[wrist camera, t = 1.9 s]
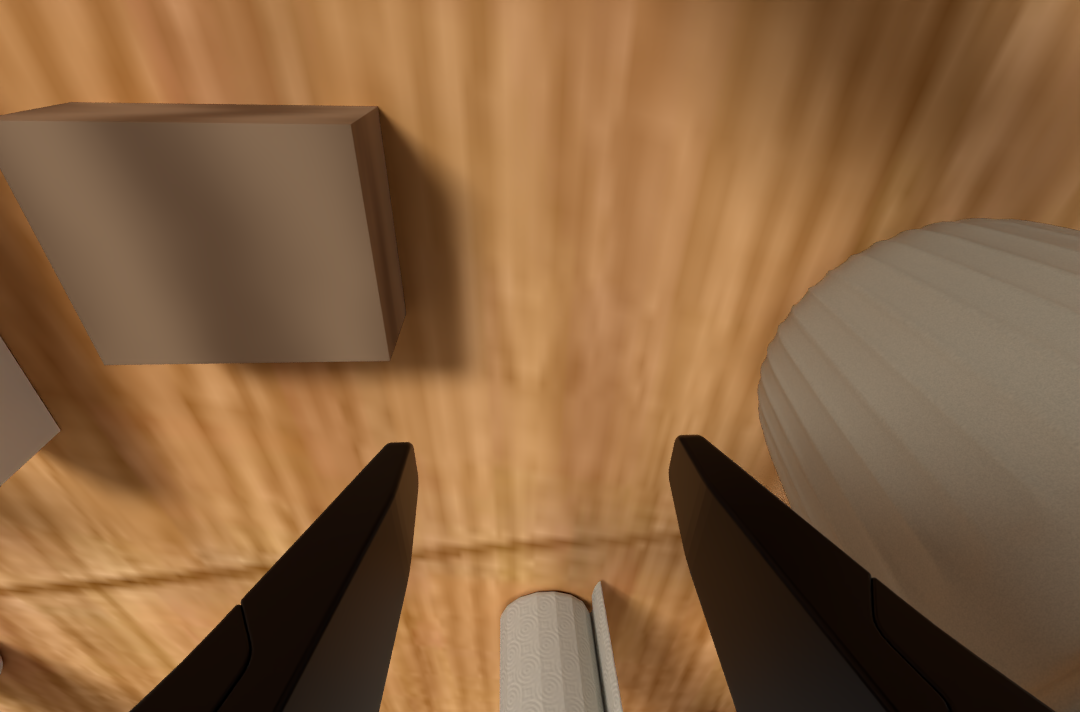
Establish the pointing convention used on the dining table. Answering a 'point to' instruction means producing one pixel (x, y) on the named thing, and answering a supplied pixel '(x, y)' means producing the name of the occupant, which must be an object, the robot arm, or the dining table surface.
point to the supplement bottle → (1, 664)
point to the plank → (20, 417)
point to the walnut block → (214, 228)
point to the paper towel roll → (557, 655)
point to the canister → (947, 433)
